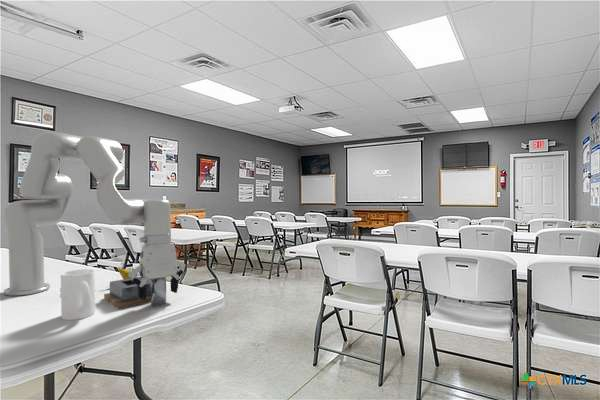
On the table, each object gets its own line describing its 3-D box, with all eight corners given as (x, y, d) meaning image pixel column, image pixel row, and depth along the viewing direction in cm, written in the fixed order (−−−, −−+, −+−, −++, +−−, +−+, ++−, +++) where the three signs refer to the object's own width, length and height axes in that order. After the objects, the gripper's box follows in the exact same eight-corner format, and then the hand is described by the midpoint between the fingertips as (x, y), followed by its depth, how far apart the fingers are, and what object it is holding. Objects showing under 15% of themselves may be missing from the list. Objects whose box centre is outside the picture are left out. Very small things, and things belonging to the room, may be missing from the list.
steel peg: (148, 304, 106) (148, 275, 106) (162, 301, 109) (162, 272, 109) (154, 307, 103) (154, 277, 103) (168, 304, 106) (168, 275, 106)
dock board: (104, 298, 112) (104, 294, 112) (148, 289, 122) (148, 285, 122) (119, 309, 102) (119, 303, 102) (165, 298, 112) (165, 293, 112)
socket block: (109, 294, 112) (109, 281, 111) (145, 287, 120) (145, 275, 120) (122, 301, 104) (122, 288, 103) (159, 293, 112) (159, 281, 112)
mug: (69, 326, 89) (68, 280, 88) (57, 315, 97) (56, 272, 96) (104, 317, 95) (103, 274, 94) (90, 308, 103) (89, 268, 102)
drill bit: (140, 285, 130) (120, 270, 124) (129, 290, 131) (109, 276, 125) (144, 274, 134) (124, 259, 128) (133, 279, 135) (113, 264, 129)
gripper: (132, 244, 97) (134, 304, 97) (190, 238, 109) (190, 291, 110) (123, 241, 102) (124, 299, 102) (179, 236, 114) (179, 287, 115)
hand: (158, 295), depth 106 cm, fingers open, 9 cm apart
